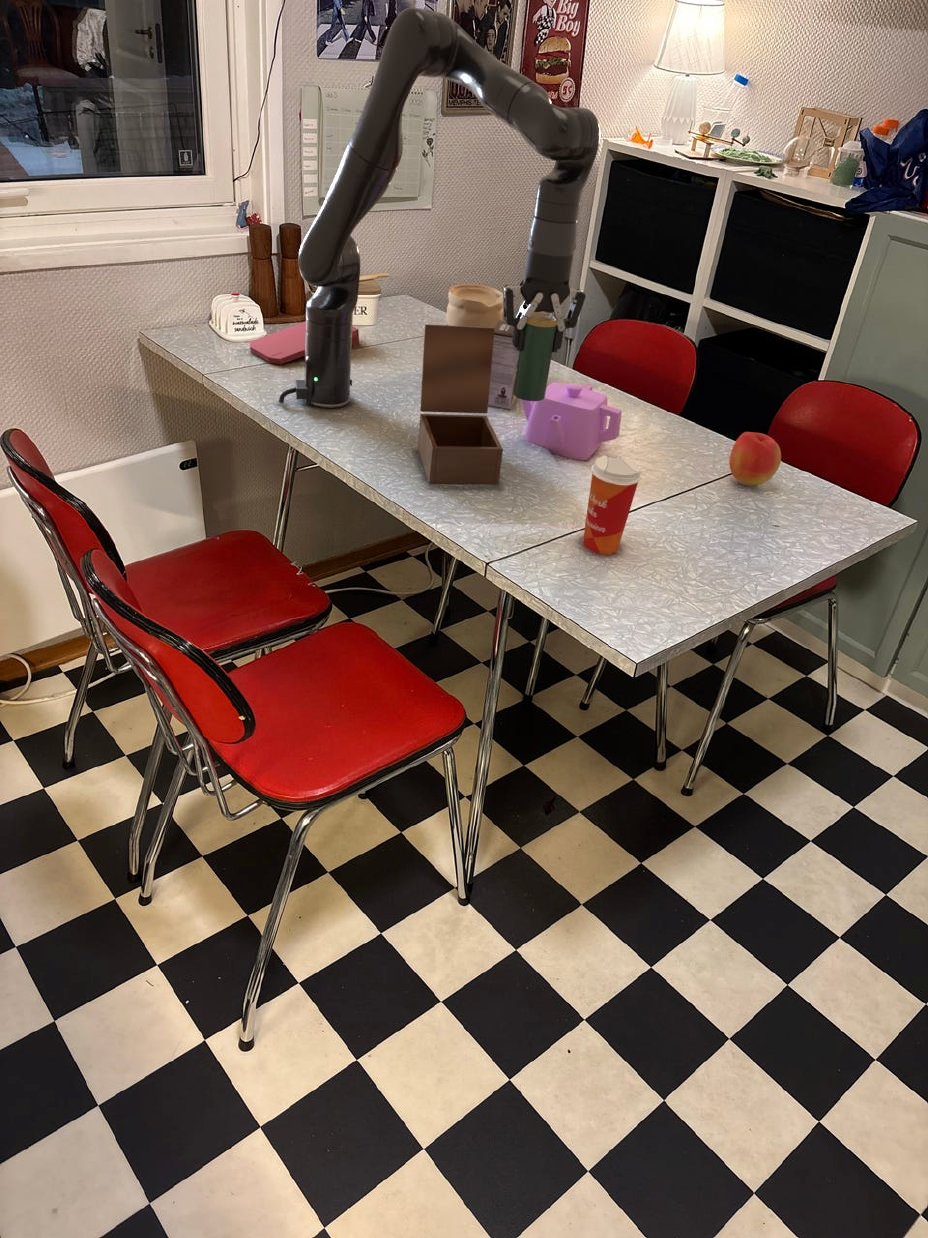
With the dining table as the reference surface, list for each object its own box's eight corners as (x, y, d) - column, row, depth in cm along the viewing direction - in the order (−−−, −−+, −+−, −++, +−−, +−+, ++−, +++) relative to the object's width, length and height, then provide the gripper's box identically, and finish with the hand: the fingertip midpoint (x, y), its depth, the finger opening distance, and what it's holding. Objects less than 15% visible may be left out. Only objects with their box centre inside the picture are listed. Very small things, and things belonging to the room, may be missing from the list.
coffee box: (489, 389, 213) (499, 318, 204) (517, 395, 212) (528, 323, 203) (482, 404, 205) (491, 331, 196) (511, 409, 205) (521, 336, 195)
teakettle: (619, 459, 190) (632, 400, 183) (543, 464, 184) (553, 404, 177) (581, 423, 202) (592, 367, 195) (509, 428, 197) (517, 370, 190)
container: (504, 371, 223) (515, 294, 213) (476, 385, 214) (486, 305, 204) (460, 356, 228) (468, 280, 218) (431, 369, 219) (438, 290, 209)
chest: (497, 488, 173) (503, 449, 169) (428, 488, 171) (432, 447, 166) (481, 453, 185) (486, 415, 181) (417, 452, 182) (420, 413, 178)
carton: (277, 380, 213) (364, 347, 226) (274, 360, 210) (363, 327, 223) (247, 363, 220) (333, 331, 233) (244, 343, 216) (331, 311, 229)
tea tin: (516, 401, 163) (528, 320, 155) (509, 388, 168) (519, 308, 160) (549, 402, 165) (562, 321, 157) (541, 389, 169) (553, 310, 161)
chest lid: (494, 328, 173) (493, 327, 174) (425, 324, 171) (424, 324, 171) (487, 413, 180) (486, 412, 181) (420, 411, 177) (420, 410, 178)
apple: (744, 496, 182) (759, 448, 176) (712, 474, 189) (726, 427, 183) (781, 490, 186) (797, 443, 180) (749, 468, 193) (763, 422, 187)
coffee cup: (572, 531, 163) (588, 452, 155) (618, 534, 164) (636, 455, 156) (581, 557, 156) (598, 475, 148) (629, 559, 157) (649, 478, 149)
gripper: (587, 244, 157) (570, 344, 166) (502, 238, 154) (490, 340, 163) (600, 256, 151) (581, 359, 160) (512, 250, 148) (499, 356, 157)
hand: (535, 349), depth 162 cm, fingers closed on tea tin, 5 cm apart
